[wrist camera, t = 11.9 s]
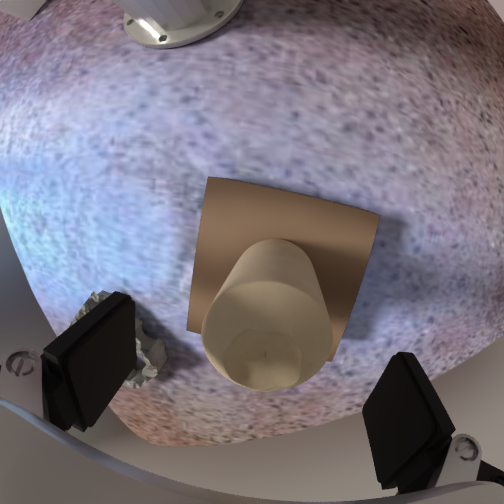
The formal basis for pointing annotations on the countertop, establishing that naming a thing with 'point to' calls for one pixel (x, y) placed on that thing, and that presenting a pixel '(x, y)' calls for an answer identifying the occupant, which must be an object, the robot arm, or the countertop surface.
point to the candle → (269, 320)
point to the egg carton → (144, 345)
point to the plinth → (286, 228)
